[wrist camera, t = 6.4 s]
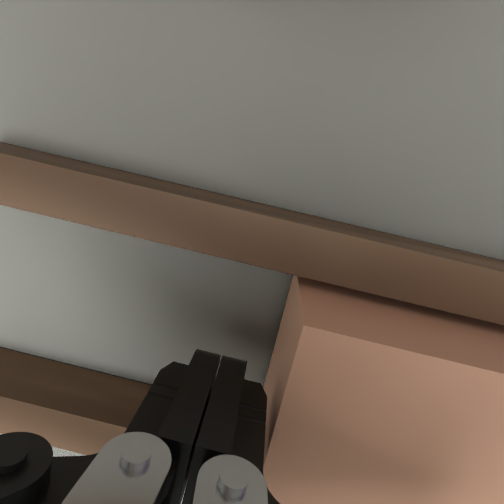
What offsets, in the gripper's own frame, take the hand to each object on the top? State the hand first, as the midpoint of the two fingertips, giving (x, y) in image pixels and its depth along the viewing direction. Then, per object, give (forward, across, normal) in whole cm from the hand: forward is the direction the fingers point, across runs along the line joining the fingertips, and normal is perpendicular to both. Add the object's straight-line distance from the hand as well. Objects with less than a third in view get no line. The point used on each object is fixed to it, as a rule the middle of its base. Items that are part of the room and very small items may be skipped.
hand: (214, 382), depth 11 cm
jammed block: (+4, -5, 0) cm, 6 cm away
